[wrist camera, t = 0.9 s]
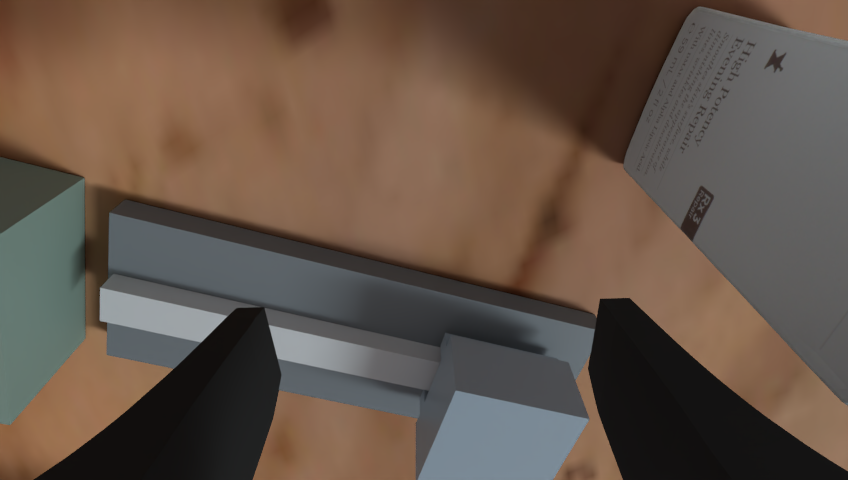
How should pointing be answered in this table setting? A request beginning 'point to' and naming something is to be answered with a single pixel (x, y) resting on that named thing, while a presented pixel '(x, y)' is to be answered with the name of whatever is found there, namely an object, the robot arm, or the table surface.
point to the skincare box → (759, 171)
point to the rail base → (310, 308)
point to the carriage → (496, 414)
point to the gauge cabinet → (38, 278)
